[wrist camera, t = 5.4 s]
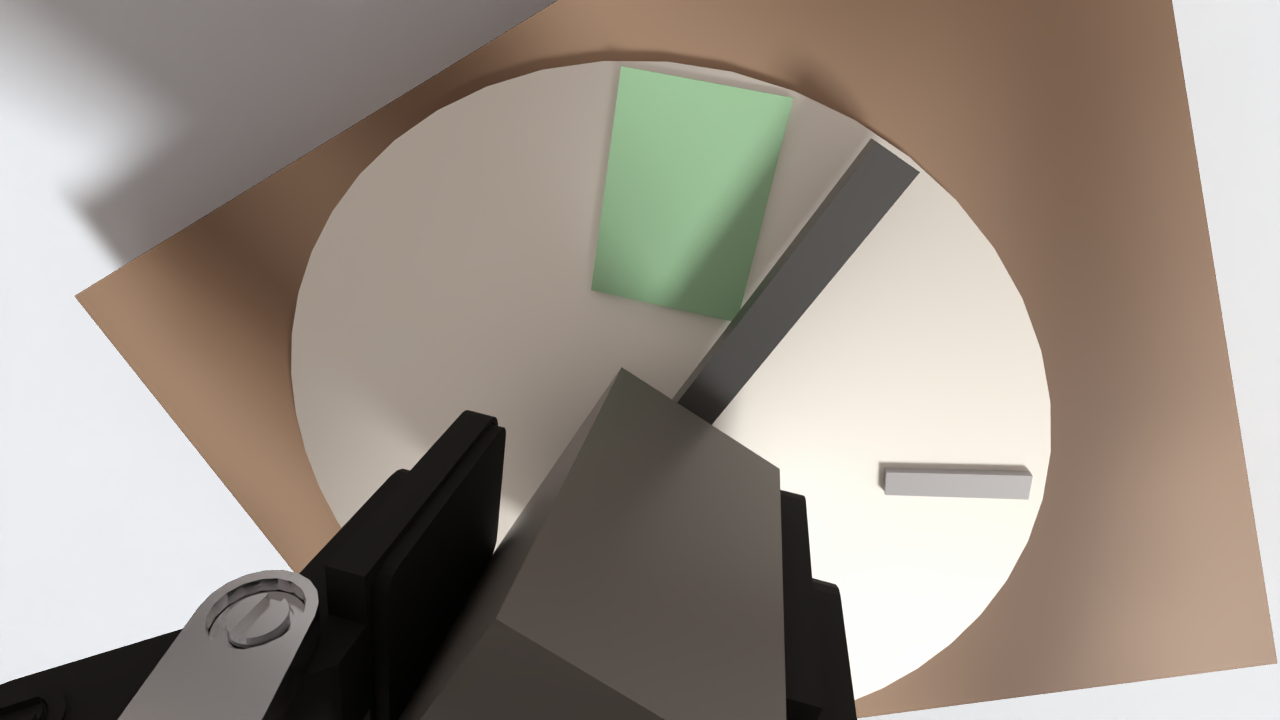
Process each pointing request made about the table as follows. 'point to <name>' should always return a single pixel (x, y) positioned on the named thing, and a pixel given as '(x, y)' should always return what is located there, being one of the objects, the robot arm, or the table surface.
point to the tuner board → (991, 196)
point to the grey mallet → (655, 533)
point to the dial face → (684, 325)
